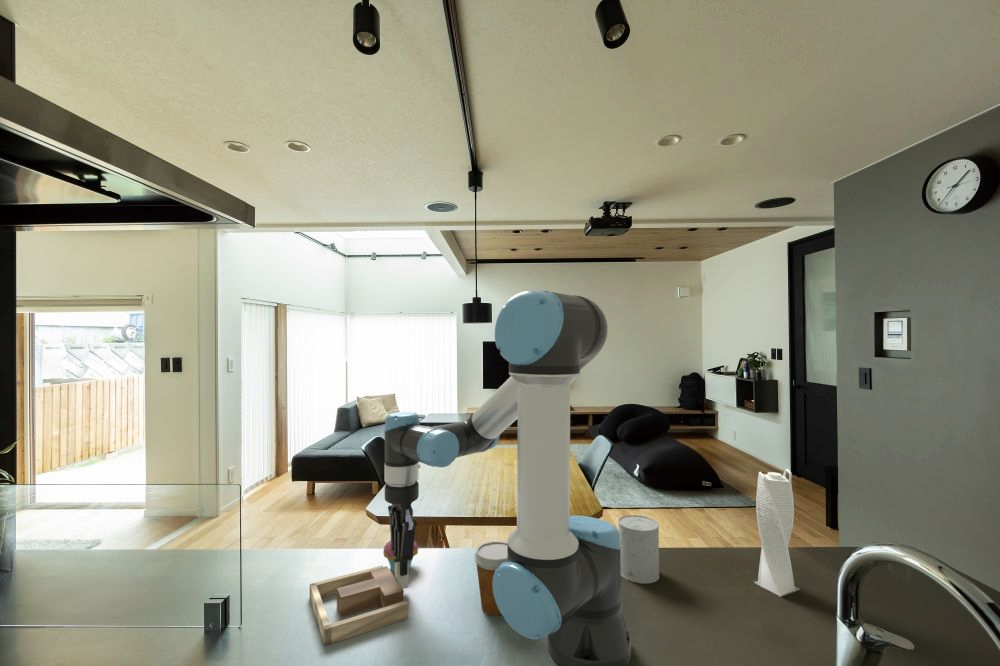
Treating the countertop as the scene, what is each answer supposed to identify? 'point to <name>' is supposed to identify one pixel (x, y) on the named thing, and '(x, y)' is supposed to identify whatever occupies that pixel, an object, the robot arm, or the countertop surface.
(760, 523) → the skyscraper
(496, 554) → the disposable coffee cup
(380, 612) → the bay
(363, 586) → the t block
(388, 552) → the cupcake
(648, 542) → the white marble cylinder
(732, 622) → the countertop surface
